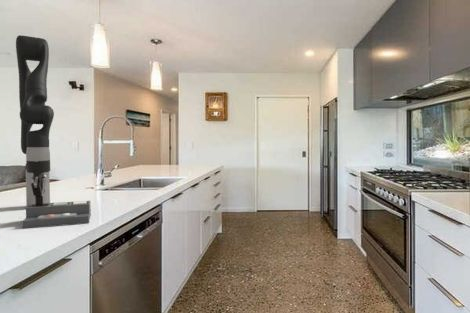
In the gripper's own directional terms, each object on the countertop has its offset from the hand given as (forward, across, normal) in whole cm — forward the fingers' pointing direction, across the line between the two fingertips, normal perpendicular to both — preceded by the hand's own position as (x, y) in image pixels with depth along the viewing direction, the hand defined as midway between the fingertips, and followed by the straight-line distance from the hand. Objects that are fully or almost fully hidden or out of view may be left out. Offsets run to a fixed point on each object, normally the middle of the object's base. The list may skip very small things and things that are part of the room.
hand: (39, 205), depth 119 cm
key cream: (+2, 0, +14) cm, 14 cm away
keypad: (+6, +2, +7) cm, 9 cm away
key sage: (+2, 0, +7) cm, 7 cm away
